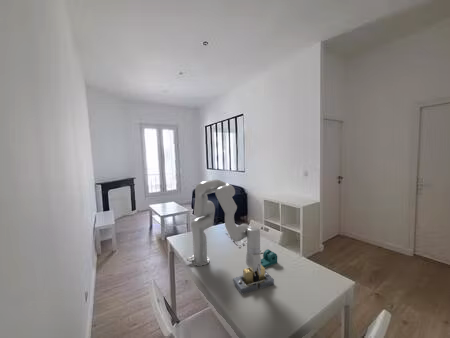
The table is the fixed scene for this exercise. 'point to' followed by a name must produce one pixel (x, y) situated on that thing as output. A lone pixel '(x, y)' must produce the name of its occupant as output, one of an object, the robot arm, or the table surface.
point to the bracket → (268, 258)
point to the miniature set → (235, 241)
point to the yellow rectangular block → (249, 275)
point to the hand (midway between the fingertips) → (254, 278)
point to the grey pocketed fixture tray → (244, 289)
